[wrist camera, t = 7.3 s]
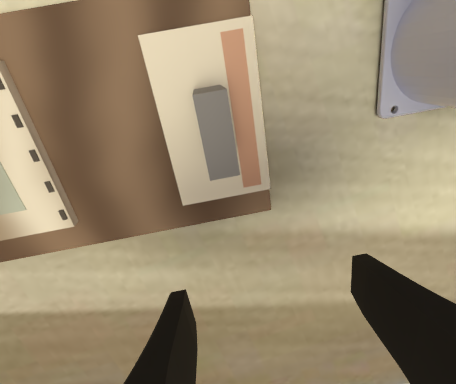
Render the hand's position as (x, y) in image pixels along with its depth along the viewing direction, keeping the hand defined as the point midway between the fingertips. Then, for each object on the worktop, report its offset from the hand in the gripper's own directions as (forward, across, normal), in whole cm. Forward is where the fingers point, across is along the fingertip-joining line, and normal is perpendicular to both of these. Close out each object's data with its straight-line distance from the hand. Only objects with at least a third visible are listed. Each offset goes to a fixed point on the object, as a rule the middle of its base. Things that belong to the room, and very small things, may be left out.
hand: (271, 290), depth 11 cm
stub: (+8, +1, -6) cm, 10 cm away
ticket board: (+9, +9, -6) cm, 14 cm away
